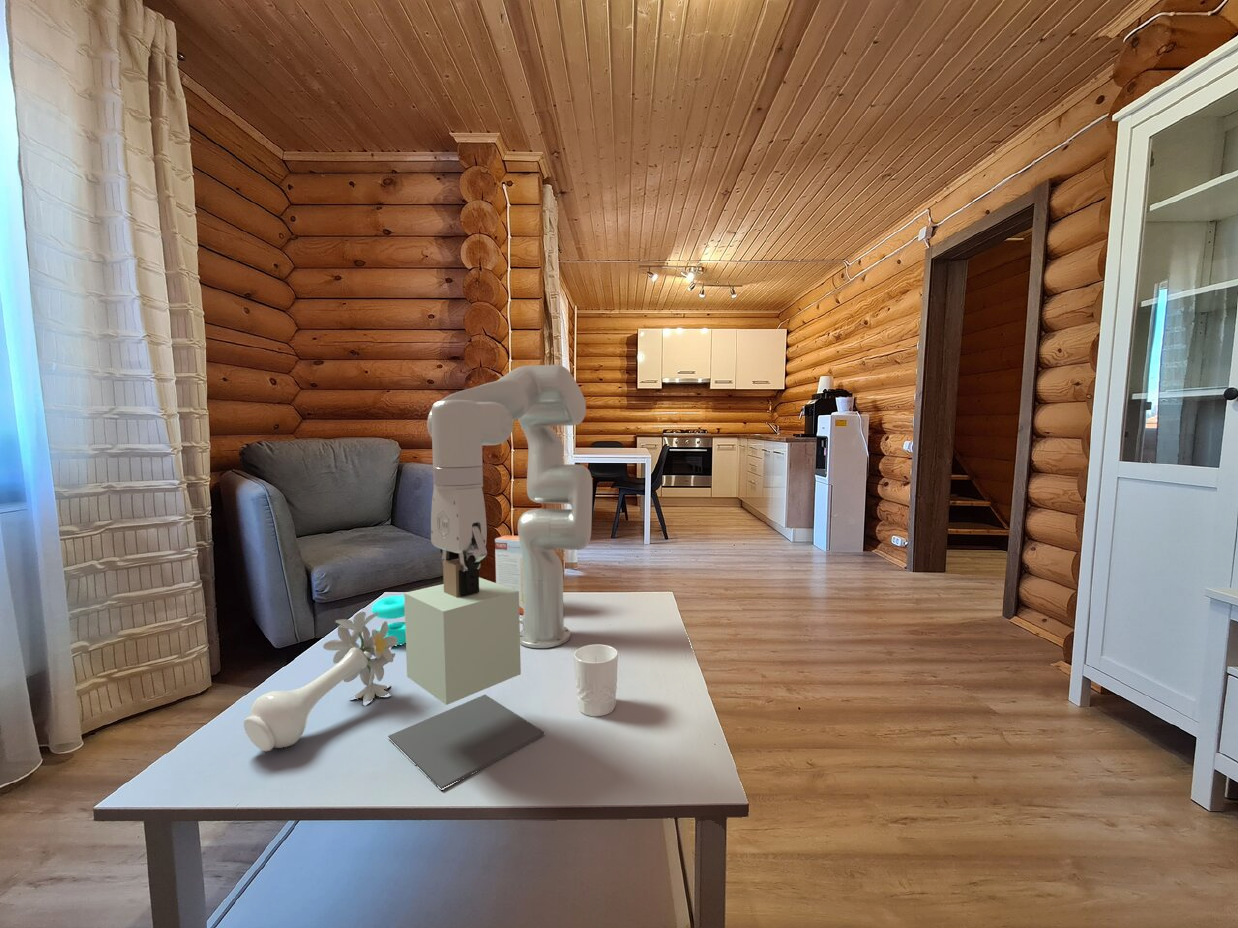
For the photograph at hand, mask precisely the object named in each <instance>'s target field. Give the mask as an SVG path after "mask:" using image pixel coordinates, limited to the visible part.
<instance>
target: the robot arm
mask: <svg viewBox="0 0 1238 928" xmlns="http://www.w3.org/2000/svg"><path fill="white" fill-rule="evenodd" d="M586 412H587V405H586V400H585V397H584V394H583V392H582V391H581V388H580V387H579V385H578V383H577V381H576V379H575V377H574V376H573V374H572V373H571V372H570V370H568V369H567V368H566V367H565V366H563V365H562V364H561V365H560V364H541V365H540V364H537V365H535V364H534V365H533V364H532V365H523V366H518V367H516V368H514V369H512V370H511V371H508V373H506V374H505V375H503V376H502V377H500V378H499V379H497V380H495V381H491V382H487V383H483V384H481V385H478V386H474V387H470V388H467V389H463V390H460V391H457V392H454V393H451V394H450V395H447V396H446V397H444V398H442V399H440V400H438V401H436V402H434V403H433V405H432V407H431V410H430V411H429V413H428V416H427V423H426V426H427V432H428V434H429V436H430V438H431V441H432V442H431V443H432V444H431V445H432V446H431V447H432V473H433V476H432V477H433V479H432V480H433V491H432V499H431V511H430V513H431V515H430V542H431V544H432V546H434V548H437V549H440V550H439V551H440V554H441V563H442V564H443V562H444V561H449V560H454V559H459V558H460V564H461V570H462V571H459V595H460V596H462V597H464V596H467V595H471V594H475V593H478V592H479V577H480V574H479V573H480V570H479V569H480V568H481V563H482V561H483V559H484V558H485V557H486V556H488V551H487V547H486V545H487V538H488V537H487V517H486V515H487V514H486V503H485V498H484V492H483V487H484V479H483V475H484V473H483V446H497V445H500V444H503V443H505V442H506V441H507V440H508V439H510V437H511V436H512V433H513V430H514V421H516V420H517V421H518V423H519V425H520V428H521V430H522V432H523V433H524V436H525V438H526V441H527V447H528V456H527V457H528V458H527V471H526V472H527V475H526V492H527V493H526V494H527V497H528V499H529V500H530V501H532V502H534V503H536V504H537V503H538V504H556V505H557V504H558V505H561V504H563V505H564V504H566V505H570V506H571V509H568V508H567V509H562V508H561V509H559V508H558V509H557V508H533V509H529V510H527V511H525V512H523V513H522V514H521V515H520V516H519V518H518V521H517V533H518V534H517V536H519V540H520V545H521V551H522V561H523V597H524V614H523V615H522V617H520V616H519V620H520V624H521V625H522V630H520V645H522V646H524V647H526V648H532V649H549V648H553V647H558V646H560V645H563V644H566V643H567V642H568V641H569V640H570V638H571V630H570V629H569V628H568V627H566V626H565V625H564V624H565V623H564V621H565V620H564V618H565V616H564V615H565V614H564V574H563V573H564V572H563V571H564V570H563V564H562V561H561V560H560V557H559V556H558V554H557V553H556V552H555V550H563V551H564V550H565V551H566V550H568V551H569V550H572V551H573V550H576V551H577V550H584V549H586V548H587V547H588V545H589V544H590V541H591V536H592V519H593V518H592V517H593V478H592V474H591V472H590V470H589V469H588V468H587V466H585V465H582V464H572V463H571V464H570V463H569V464H564V445H563V442H562V440H561V438H560V437H559V435H558V434H557V432H555V430H554V429H552V428H551V427H556V426H562V427H563V426H567V427H568V426H578V425H579V424H581V423H583V421H584V419H585V417H586ZM469 548H470V549H469ZM469 554H472V555H469ZM467 555H469V556H468V557H467ZM467 558H468V560H467Z"/></svg>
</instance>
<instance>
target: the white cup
mask: <svg viewBox="0 0 1238 928" xmlns="http://www.w3.org/2000/svg"><path fill="white" fill-rule="evenodd" d="M618 656H619V651H618V650H617V649H616V648H615V647H613V646H611V645H608V644H598V643H597V644H596V643H595V644H588V645H587V644H586V645H584V646H581V647H579V648H578V649H576V650H575V651H574V653H573V658H574V675H575V686H576V695H577V706H578V707H577V708H578V710H579V712H581V713H582V714H584V715H586V716H590V717H603V716H606V715H609V714H610V713H612V712H613V711H614V710H615V708H616V699H617V698H616V697H617V683H618V661H619V660H618V658H619V657H618Z"/></svg>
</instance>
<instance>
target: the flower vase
mask: <svg viewBox="0 0 1238 928" xmlns="http://www.w3.org/2000/svg"><path fill="white" fill-rule="evenodd" d="M378 614H379V613H375V614H373V613H372V614H370V615H369V616H367V613H366V612H365V611H360V612H358V613H356V614H355V616H354V617H353V621H352V620H351V619H346V618H345V619H344V618H343V619H337V620H335V623H337V624H339V625H338V626H337V636H338V638H339V639H331V640H328V641H326V642H325V643H324V644H323V645H322V646H323V649H324V650H326V651H330V652H331V651H333V652H334V651H336V652H335V654H334V655H333V660H332V662H333V664H334V666H332V667H331V668H330V669H328V670H327V671H324V673H322V674H321V675H320V676H318V677H316V678H315V679H314V680H312V681H311V682H309V683H307V684H306V685H303V686H301V687H298V688H295V689H292V690H272V691H268V692H266V693H264V694H261V695H260V696H258V697H257V698H256V699H255V700H254V702H253V704H252V706H251V708H250V710H249V711H250V712H249V716H247V717H246V718H245V720H244V721H243V729H244V732H245V734H246V736H247V737H248V739H249V740H250V742H251V743H252V744H253V745H254V746H255V747H256V748H257V749H259V750H260V751H263V752H269V751H271V750H273V748H277V749H283V747H284V748H287V747H290V746H294V744H296V743H297V742H298V741H299V739H300V738H301V737H302V736H303V734H304V732H305V730H306V726H307V724H308V723H307V722H308V718H309V716H310V713H311V712H312V710H313V708H315V706H316V704H317V703H319V701H320V700H321V699H323V697H324V696H326V695H327V694H328V693H329V692H330V691H331V690H333V689H335V688H336V686H337V685H339V684H340V683H341V682H342V681H343V682H344V683H350V682H352V681H353V680H355V679H356V678H357V677H359V678H360V681H361V682H362V684H363V685H364V686H365V687H364V688H362V690H360V691H359V692H358V693H356V694H355V695H354V696H355V698H360V699H361V698H362V699H363V701H364V702H367V701H371V700H372V699H373V698H374V699H375V697H378V696H379V697H378V698H380V696H385V695H387V694H388V693H389V692H388V691H386V690H387V689H386V688H387V686H386V685H387V684H385V685H384V684H378V683H376V682H375V683H374V679H375V678H376V680H377V681H378V682H381V681H382V679H383V678H384V675H385V669H384V666H385V665H387V664H389V663H393V662H394V658H395V657H396V653H395V652H392V651H391V649H392V648H394V647H393V646H395V645H396V644H397V643H398V639H397V638H396V637H395V636H388V637H385V636H386V635H387V632H388V624H389V623H388V622H387V621H384V622H383V623H382V624H381V626H380V628H381V629H380V630H378V629H377V630H378V631H377V630H376V629H372V630H371V634H370V631H369V629H368V627H367V626H366V625H367V624H368V623H370V621H372V619H374V618H375V617H377V615H378ZM350 630H351V631H352V632H350ZM384 637H385V638H384ZM358 639H360V643H361V644H360V645H359V644H358V642H357V641H358ZM372 657H375V658H372ZM384 689H385V690H384ZM375 695H376V696H375Z"/></svg>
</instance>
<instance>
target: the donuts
mask: <svg viewBox="0 0 1238 928" xmlns="http://www.w3.org/2000/svg"><path fill="white" fill-rule="evenodd" d="M371 612H372V614H375V613H379V614H378V615H377V616H376V617H377V618H379V619H381V620H382V619H385V620H394V619H399V618H403V617H404V618H405V604H404V594H403V595H401V594H400V595H399V594H398V595H392V596H387V597H382V598H381V599H378V600H377V601H375V602H374V603H373V604H372V606H371ZM387 624H388V632H387V635H386V636H385V637H388V636H395V637H396V638H397V639H398V643H397V644H396V645H400V644H404V643H406V632H405V621H396V622H391V623H387ZM380 629H381V627H379V628H378V629H377V631H378V630H380ZM385 637H384V638H385ZM404 645H405V644H404Z"/></svg>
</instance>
